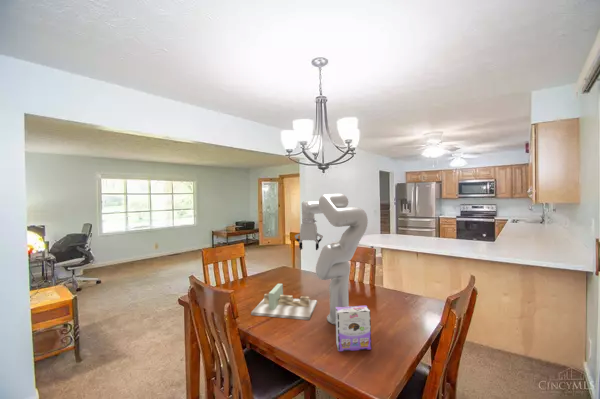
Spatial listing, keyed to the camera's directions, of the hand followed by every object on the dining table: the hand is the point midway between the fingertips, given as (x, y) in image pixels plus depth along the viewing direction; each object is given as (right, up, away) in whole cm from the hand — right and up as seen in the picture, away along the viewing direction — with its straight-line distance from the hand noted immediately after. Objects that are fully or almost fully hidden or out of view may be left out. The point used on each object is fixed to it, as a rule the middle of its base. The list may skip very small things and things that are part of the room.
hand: (309, 249), depth 167 cm
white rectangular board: (-14, -31, -12) cm, 36 cm away
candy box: (+17, -32, -51) cm, 63 cm away
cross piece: (-19, -30, -9) cm, 36 cm away
